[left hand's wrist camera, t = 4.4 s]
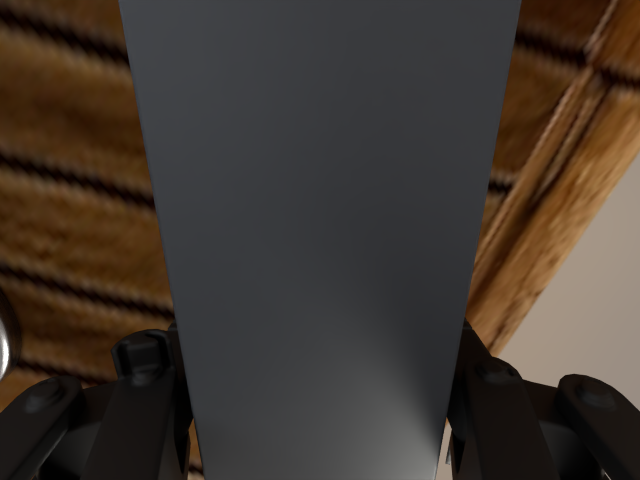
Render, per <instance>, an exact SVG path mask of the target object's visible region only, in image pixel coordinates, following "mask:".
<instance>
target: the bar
mask: <svg viewBox="0 0 640 480" xmlns="http://www.w3.org/2000/svg"><path fill="white" fill-rule="evenodd" d="M118 1H119V7H120V12H121V18H122V23H123V29H124V35H125V40H126V46H127V51H128V57H129V62H130V68H131V73H132V79H133V85H134V90H135V96H136V101H137V107H138V112H139V118H140V124H141V129H142V135H143V140H144V146H145V151H146V157H147V162H148V168H149V174H150V179H151V185H152V190H153V196H154V201H155V207H156V212H157V218H158V224H159V229H160V235H161V240H162V246H163V251H164V257H165V262H166V268H167V274H168V279H169V285H170V290H171V296H172V301H173V307H174V312H175V318H176V324H177V329H178V335H179V340H180V346H181V351H182V357H183V362H184V368H185V374H186V379H187V385H188V390H189V396H190V401H191V407H192V412H193V418H194V424H195V429H196V435H197V440H198V446H199V451H200V457H201V462H202V468H203V474H204V479H205V480H435V478H436V473H437V467H438V461H439V456H440V450H441V445H442V439H443V434H444V428H445V422H446V417H447V411H448V406H449V400H450V395H451V389H452V384H453V378H454V372H455V367H456V361H457V356H458V350H459V345H460V339H461V334H462V328H463V322H464V317H465V311H466V306H467V300H468V295H469V289H470V284H471V278H472V272H473V267H474V261H475V256H476V250H477V245H478V239H479V234H480V228H481V222H482V217H483V211H484V206H485V200H486V195H487V189H488V184H489V178H490V172H491V167H492V161H493V156H494V150H495V145H496V139H497V133H498V128H499V122H500V117H501V111H502V106H503V100H504V95H505V89H506V83H507V78H508V72H509V67H510V61H511V56H512V50H513V45H514V39H515V33H516V28H517V22H518V17H519V11H520V6H521V0H118Z"/></svg>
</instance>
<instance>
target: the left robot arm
mask: <svg viewBox="0 0 640 480" xmlns="http://www.w3.org/2000/svg"><path fill="white" fill-rule="evenodd" d="M20 352H21V332H20V328H19V324H18V321H17V318H16V316H15V314H14V311H13V309H12V307H11V306H10V304H9V302H8V301H7V299H6V298H5V296H4V295H3V293H2V292H1V291H0V382H1V381H2V380H3V379H5V378H6V377H7V376H8V375H9V374H10V373H11V372H12V370H13V369H14V367H15V366H16V364H17V362H18V360H19V356H20ZM111 354H112V357H113V361H114V365H115V368H116V372H117V376H118V380H117V381H114V382H111V383H107V384H103V385H99V386H94V387H90V388H85V389H83V388H82V385H81V382H80V380H78V379H77V378H76V377H74V376H67V375H64V376H57V377H52V378H49V379H46V380H44V381H41V382H39V383H37V384H35V385H33V386H31V387H29V388H28V389H26V390H25V391H24V392H23V393H21V394H20V395H19V396H17V397H16V398H15V399H14V400H13V401H12V402H11V403H10V404H9V405H8V406H7V407H6V408H5V409H4V410H3V411H2V412H1V413H0V480H31V478H32V477H33V476H34V474H35V476H34V477H33V479H32V480H187V478H188V467H189V456H190V445H191V442H190V436H189V431H188V429H189V427H190V425H191V422H192V420H193V412H192V407H191V401H190V396H189V390H188V385H187V379H186V374H185V368H184V362H183V357H182V351H181V346H180V340H179V335H178V329H177V324H176V318H175V319H174V321H173V323H171V325H170V326H169V328H168V331H163V330H159V329H147V330H143V331H138V332H135V333H133V334H130V335H128V336H126V337H124V338H123V339H121V340H120V341H119V342H117V343H116V344H115V345H114V347H113V348H112V349H111ZM447 419H448V421H449V423H450V426H451V428H452V431H451V436H450V441H449V447H448V452H447V457H446V464H450V462H451V466H452V477H453V480H609V478H608V477H607V476H606V474H607V475H608V476H609V477H610V479H611V480H640V411H639V410H638V409H637V408H636V407H635V406H634V405H633V404H632V403H631V402H630V401H629V400H628V399H627V398H625V396H623V395H622V394H621V393H620V392H618V391H617V390H616V389H615V388H613V387H612V386H610V385H608V384H606V383H604V382H602V381H600V380H598V379H595V378H592V377H589V376H586V375H579V374H570V375H565V376H564V377H562V378H561V379H560V381H559V384H558V387H557V388H556V387H552V386H548V385H543V384H539V383H534V382H530V381H527V380H523V379H522V377H521V376H520V374H519V373H518V371H517V370H516V369H515V368H514V367H512V366H511V365H510V364H509V363H507V362H505V361H503V360H501V359H499V358H496V357H492V356H491V354H490V353H489V351H488V350H487V349H486V347H485V346H484V344H483V343H482V341H481V340H480V338H479V337H478V335H477V334H476V333H475V331H474V330H472V327H471V325H470V324H469V322H467V319H466V318H465V317H464V322H463V328H462V334H461V339H460V345H459V350H458V356H457V361H456V367H455V372H454V378H453V384H452V389H451V395H450V400H449V406H448V411H447ZM605 472H606V474H605Z"/></svg>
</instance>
